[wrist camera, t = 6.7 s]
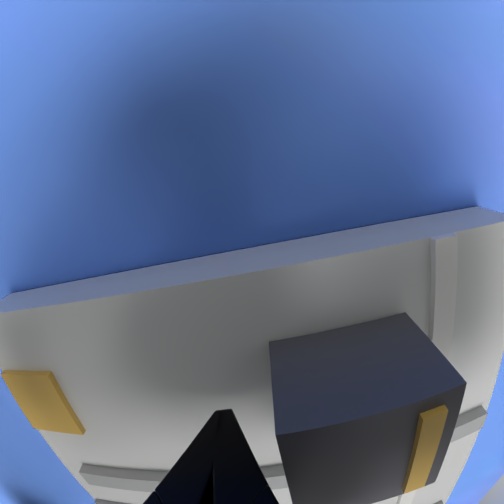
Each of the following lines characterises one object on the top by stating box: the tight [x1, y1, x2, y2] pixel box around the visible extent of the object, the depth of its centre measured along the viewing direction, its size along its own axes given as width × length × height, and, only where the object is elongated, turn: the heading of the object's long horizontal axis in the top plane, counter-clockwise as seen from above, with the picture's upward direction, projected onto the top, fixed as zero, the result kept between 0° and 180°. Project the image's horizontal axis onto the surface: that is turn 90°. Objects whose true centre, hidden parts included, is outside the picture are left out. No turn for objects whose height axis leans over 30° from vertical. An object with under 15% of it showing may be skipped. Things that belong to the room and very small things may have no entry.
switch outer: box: [269, 312, 467, 504], centre depth 7 cm, size 4×4×4 cm
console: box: [0, 206, 504, 504], centre depth 13 cm, size 20×26×3 cm
